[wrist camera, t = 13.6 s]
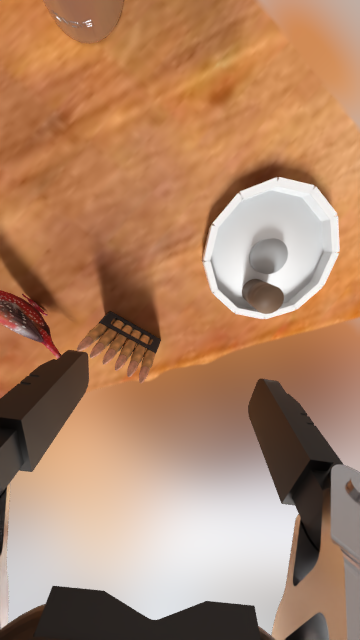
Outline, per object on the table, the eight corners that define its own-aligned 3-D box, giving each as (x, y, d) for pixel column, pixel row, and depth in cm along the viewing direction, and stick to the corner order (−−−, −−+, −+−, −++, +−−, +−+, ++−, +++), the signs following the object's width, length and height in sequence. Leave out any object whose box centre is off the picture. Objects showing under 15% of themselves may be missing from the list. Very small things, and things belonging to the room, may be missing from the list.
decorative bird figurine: (8, 269, 32) (-65, 277, 23) (89, 342, 36) (56, 374, 27) (-1, 280, 33) (-76, 293, 23) (79, 350, 37) (44, 384, 28)
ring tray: (222, 171, 26) (225, 164, 24) (349, 201, 27) (365, 197, 25) (192, 301, 33) (193, 305, 31) (295, 321, 34) (304, 327, 32)
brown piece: (246, 276, 31) (259, 282, 25) (269, 281, 31) (288, 288, 25) (238, 300, 32) (250, 311, 27) (261, 304, 32) (277, 316, 27)
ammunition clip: (105, 318, 35) (67, 352, 23) (109, 310, 34) (73, 341, 23) (156, 346, 36) (143, 390, 25) (161, 339, 36) (150, 381, 25)
